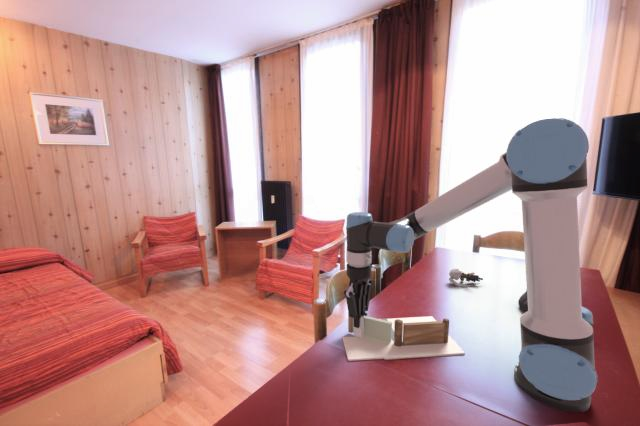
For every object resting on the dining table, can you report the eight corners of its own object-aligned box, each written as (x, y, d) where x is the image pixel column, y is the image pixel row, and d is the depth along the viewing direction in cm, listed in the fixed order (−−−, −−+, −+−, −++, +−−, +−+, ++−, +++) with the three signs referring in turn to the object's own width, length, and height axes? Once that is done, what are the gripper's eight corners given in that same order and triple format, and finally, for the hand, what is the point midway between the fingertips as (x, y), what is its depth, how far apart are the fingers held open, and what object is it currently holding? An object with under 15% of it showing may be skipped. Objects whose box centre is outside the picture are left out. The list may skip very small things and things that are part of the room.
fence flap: (391, 339, 92) (392, 319, 91) (390, 342, 91) (390, 322, 90) (349, 329, 99) (349, 310, 97) (347, 331, 97) (347, 312, 96)
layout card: (464, 354, 86) (464, 352, 86) (348, 362, 84) (348, 360, 84) (432, 317, 107) (432, 315, 107) (338, 322, 104) (338, 321, 104)
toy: (487, 270, 131) (453, 263, 131) (488, 288, 127) (454, 281, 127) (474, 277, 140) (443, 271, 141) (475, 294, 136) (443, 287, 137)
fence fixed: (449, 343, 91) (451, 320, 89) (395, 346, 89) (396, 323, 88) (445, 338, 93) (447, 316, 92) (392, 342, 92) (393, 319, 90)
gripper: (357, 272, 82) (357, 349, 86) (380, 260, 91) (379, 330, 95) (336, 266, 87) (336, 340, 90) (360, 256, 96) (359, 322, 100)
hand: (358, 334), depth 93 cm, fingers closed
